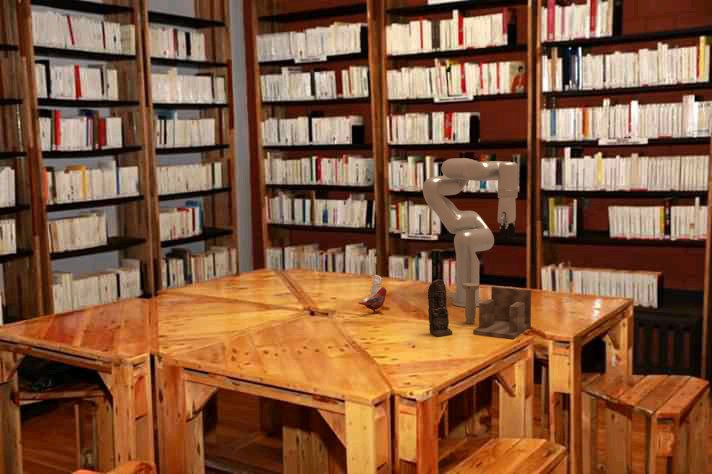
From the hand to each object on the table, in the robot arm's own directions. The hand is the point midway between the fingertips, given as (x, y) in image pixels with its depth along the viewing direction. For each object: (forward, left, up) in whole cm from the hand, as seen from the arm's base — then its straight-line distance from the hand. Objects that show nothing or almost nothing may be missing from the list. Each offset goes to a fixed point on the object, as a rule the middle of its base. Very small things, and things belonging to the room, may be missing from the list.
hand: (507, 237), depth 316 cm
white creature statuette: (-57, -4, -31) cm, 65 cm away
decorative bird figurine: (-48, -23, -31) cm, 61 cm away
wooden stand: (+7, -25, -31) cm, 41 cm away
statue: (-12, -39, -31) cm, 52 cm away
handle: (-8, -19, -31) cm, 37 cm away
